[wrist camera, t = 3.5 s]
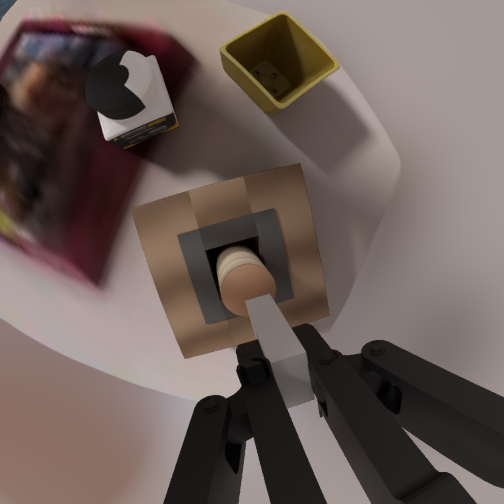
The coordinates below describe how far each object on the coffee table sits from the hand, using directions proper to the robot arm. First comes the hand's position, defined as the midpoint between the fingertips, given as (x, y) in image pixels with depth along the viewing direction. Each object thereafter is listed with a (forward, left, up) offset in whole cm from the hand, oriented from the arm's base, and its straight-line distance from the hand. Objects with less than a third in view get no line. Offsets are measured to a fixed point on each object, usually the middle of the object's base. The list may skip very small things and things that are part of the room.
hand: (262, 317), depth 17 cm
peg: (0, 0, -12) cm, 12 cm away
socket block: (0, 0, -18) cm, 18 cm away
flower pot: (-19, +9, -19) cm, 28 cm away
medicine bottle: (-19, -6, -19) cm, 27 cm away
